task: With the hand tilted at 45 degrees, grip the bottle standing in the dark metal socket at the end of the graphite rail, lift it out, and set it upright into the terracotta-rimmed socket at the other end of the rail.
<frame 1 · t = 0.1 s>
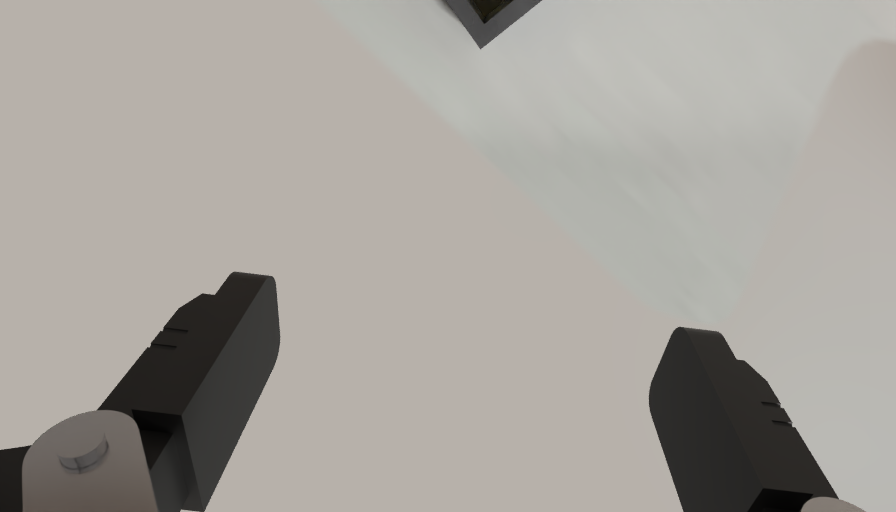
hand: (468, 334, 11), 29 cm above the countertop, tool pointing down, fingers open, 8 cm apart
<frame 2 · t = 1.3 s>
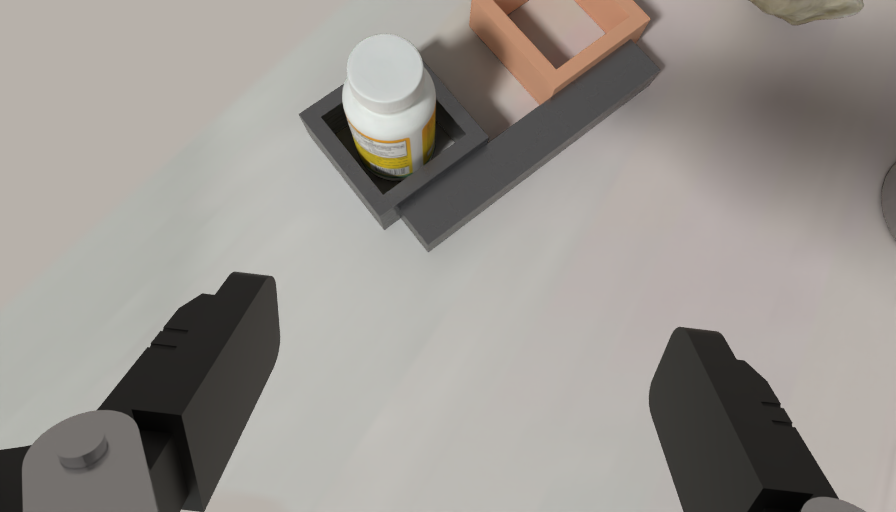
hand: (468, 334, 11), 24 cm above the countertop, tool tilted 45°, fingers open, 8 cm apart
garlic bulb: (766, 4, 40), on the countertop
marked socket: (551, 35, 39), on the countertop
supplement bottle: (397, 147, 37), resting in rail
rail: (476, 89, 38), on the countertop
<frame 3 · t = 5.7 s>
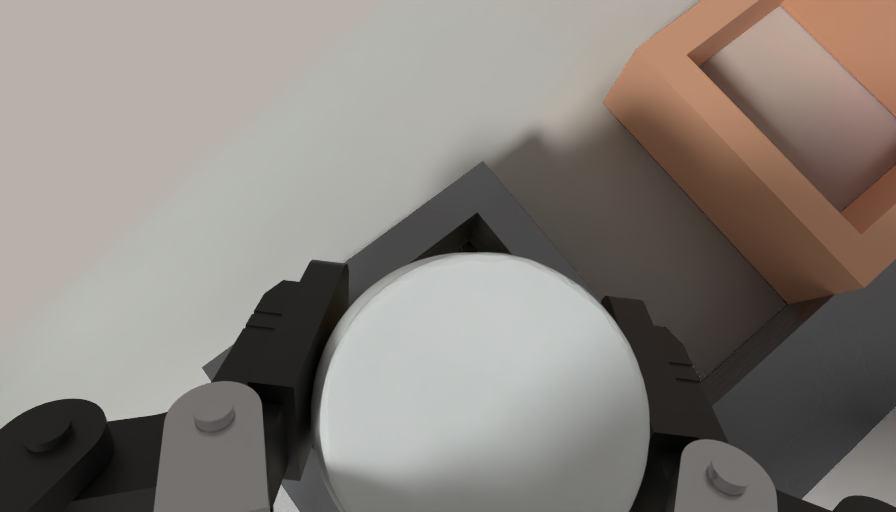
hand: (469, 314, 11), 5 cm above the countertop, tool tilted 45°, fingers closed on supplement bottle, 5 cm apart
marked socket: (783, 124, 18), on the countertop
supplement bottle: (451, 394, 16), resting in rail, touching gripper
rail: (628, 250, 17), on the countertop
when the fingers open (6 cm above the countertop, at t = 11.4 s): supplement bottle drops 1 cm, resting in marked socket.
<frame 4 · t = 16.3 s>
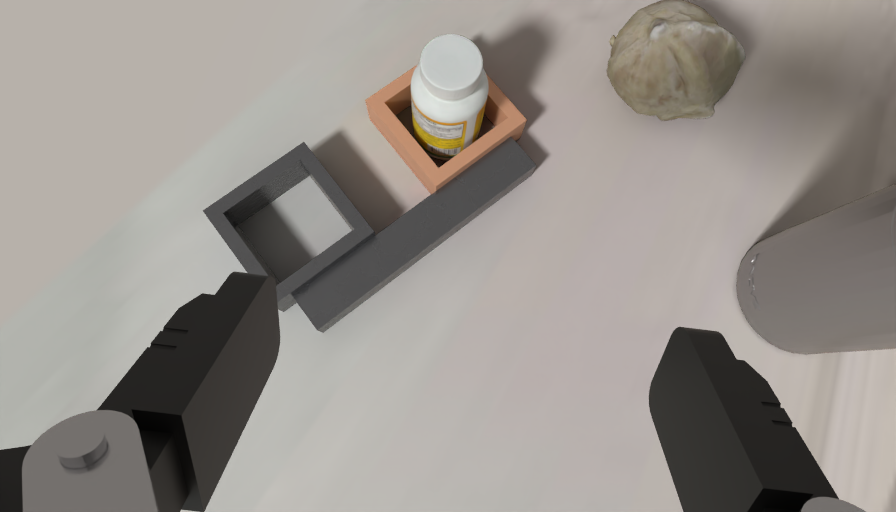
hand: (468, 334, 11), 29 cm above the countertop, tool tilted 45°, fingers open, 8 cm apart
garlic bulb: (644, 98, 44), on the countertop
marked socket: (445, 128, 43), on the countertop
supplement bottle: (446, 131, 43), resting in marked socket
rail: (373, 179, 42), on the countertop
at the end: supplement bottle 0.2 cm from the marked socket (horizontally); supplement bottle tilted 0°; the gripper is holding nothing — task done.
